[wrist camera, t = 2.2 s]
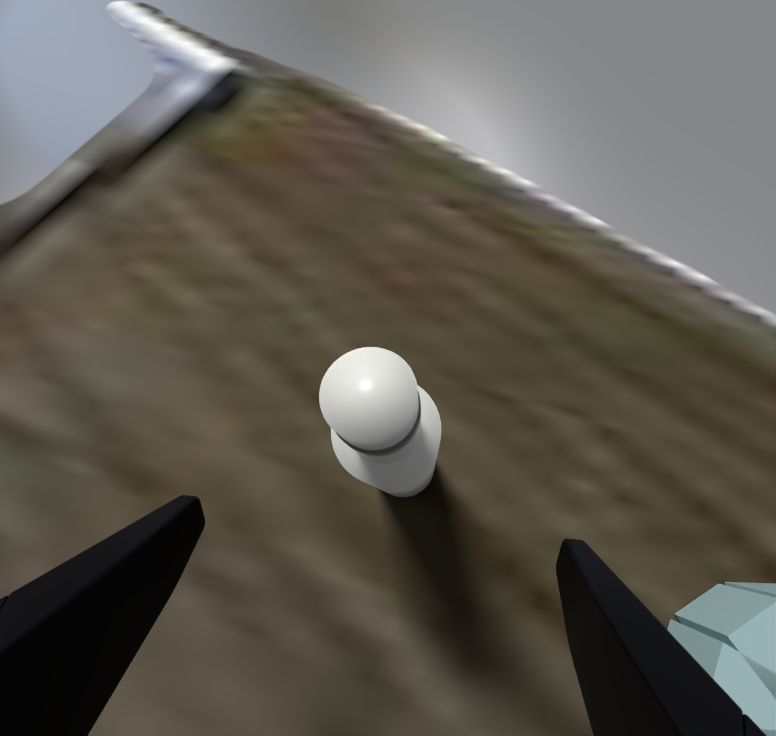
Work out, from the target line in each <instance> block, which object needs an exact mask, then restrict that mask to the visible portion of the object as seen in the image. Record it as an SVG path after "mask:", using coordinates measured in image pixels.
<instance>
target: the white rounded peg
mask: <svg viewBox="0 0 776 736" xmlns="http://www.w3.org/2000/svg"><path fill="white" fill-rule="evenodd" d="M319 401H320V407H321V411H322V414H323V416H324V418H325V420H326V422H327V423H328V424H329V426H330V427H331V439H332V445H333V449H334V451H335V454H336V456H337V458H338V460H339V461H340V463H341V464H342V466H343V467H344V468H345V469H346V470H347V471H348V472H349V473H350V474H351V475H353V476H354V477H355V478H357V479H359V480H361V481H363V482H365V483H367V484H369V485H371V486H373V487H376V488H378V489H380V490H382V491H384V492H386V493H389V494H391V495H393V496H397V497H410V496H414V495H416V494H418V493H420V492H421V491H423V490H424V489H425V488H426V487H427V486H428V484H429V483H430V481H431V479H432V477H433V473H434V469H435V464H436V459H437V454H438V449H439V445H440V439H441V420H440V416H439V413H438V410H437V408H436V406H435V404H434V402H433V400H432V399H431V398H430V396H429V395H428V394H427V393H426V392H425V391H424V390H423V389H422V388H421V387H419V386H418V385H417V382H416V379H415V376H414V373H413V372H412V370H411V368H410V367H409V365H408V364H407V363H406V362H405V361H404V360H403V359H402V358H401V357H400V356H398V355H397V354H395V353H393V352H391V351H389V350H386V349H382V348H377V347H365V348H359V349H356V350H353V351H350V352H348V353H346V354H344V355H343V356H341V357H340V358H339V359H337V360H336V361H335V362H334V363H333V364H332V365H331V366H330V368H329V369H328V370H327V372H326V374H325V375H324V378H323V380H322V383H321V386H320V392H319Z"/></svg>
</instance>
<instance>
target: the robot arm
mask: <svg viewBox="0 0 776 736" xmlns="http://www.w3.org/2000/svg"><path fill="white" fill-rule="evenodd" d="M204 526H205V517H204V513H203V510H202V506H201V502H200V499H199V498H198V497H196V496H188V495H182V496H179V497H177V498H176V499H174V500H172V501H170V502H169V503H167V504H165V505H163V506H162V507H160V508H158V509H156V510H155V511H153V512H151V513H150V514H148V515H146V516H144V517H143V518H141V519H139V520H137V521H136V522H134V523H132V524H130V525H129V526H127V527H125V528H123V529H122V530H120V531H118V532H116V533H115V534H113V535H111V536H110V537H108V538H106V539H104V540H103V541H101V542H99V543H97V544H96V545H94V546H92V547H90V548H89V549H87V550H85V551H83V552H82V553H80V554H78V555H76V556H75V557H73V558H71V559H69V560H68V561H66V562H64V563H63V564H61V565H59V566H57V567H56V568H54V569H52V570H50V571H49V572H47V573H45V574H43V575H42V576H40V577H38V578H36V579H35V580H33V581H31V582H29V583H28V584H26V585H24V586H22V587H21V588H19V589H17V590H15V591H14V592H12V593H11V594H10V595H9V596H5V597H3V598H1V599H0V736H88V734H89V732H90V731H91V729H92V727H93V726H94V724H95V722H96V721H97V719H98V717H99V716H100V714H101V712H102V710H103V709H104V707H105V705H106V704H107V702H108V700H109V699H110V697H111V695H112V694H113V692H114V690H115V689H116V687H117V685H118V684H119V682H120V680H121V679H122V677H123V675H124V673H125V672H126V670H127V668H128V667H129V665H130V663H131V662H132V660H133V658H134V657H135V655H136V653H137V652H138V650H139V648H140V647H141V645H142V643H143V642H144V640H145V638H146V636H147V635H148V633H149V631H150V630H151V628H152V626H153V625H154V623H155V621H156V620H157V618H158V616H159V615H160V613H161V611H162V610H163V608H164V606H165V605H166V603H167V601H168V599H169V598H170V596H171V594H172V592H173V591H174V589H175V587H176V585H177V583H178V581H179V579H180V577H181V575H182V573H183V571H184V569H185V567H186V565H187V563H188V561H189V558H190V556H191V554H192V552H193V550H194V548H195V546H196V544H197V542H198V540H199V538H200V536H201V533H202V531H203V529H204ZM556 574H557V580H558V585H559V591H560V597H561V603H562V609H563V614H564V620H565V626H566V632H567V637H568V642H569V647H570V651H571V655H572V659H573V663H574V667H575V670H576V674H577V678H578V681H579V685H580V688H581V692H582V696H583V699H584V703H585V706H586V710H587V714H588V717H589V721H590V724H591V728H592V732H593V735H594V736H767V735H766V734H765V733H764V732H763V731H762V730H761V729H760V728H759V727H758V726H757V725H756V724H755V723H754V722H753V721H752V719H751V718H750V717H749V716H748V715H746V714H743V712H742V709H741V708H740V707H739V706H738V705H737V704H736V703H735V702H734V700H733V699H732V698H731V697H730V696H729V695H728V694H727V693H726V692H725V691H724V690H723V689H722V688H721V687H720V686H719V684H718V683H717V682H716V681H715V680H714V679H713V678H712V677H711V676H710V675H709V674H708V673H707V672H706V671H705V670H704V668H703V667H702V666H701V665H700V664H699V663H698V662H697V661H696V660H695V659H694V658H693V657H692V656H691V655H690V654H689V652H688V651H687V650H686V649H685V648H684V647H683V646H682V645H681V644H680V643H679V642H678V641H677V640H676V639H675V638H674V636H673V635H672V634H671V633H670V632H669V631H668V630H667V629H666V628H665V627H664V626H663V625H662V624H661V623H660V622H659V620H658V619H657V618H656V617H655V616H654V615H653V614H652V613H651V612H650V611H649V610H648V609H647V608H646V607H645V606H644V604H643V603H642V602H641V601H640V600H639V599H638V598H637V597H636V596H635V595H634V594H633V593H632V592H631V591H630V590H629V588H628V587H627V586H626V585H625V584H624V583H623V582H622V581H621V580H620V579H619V578H618V577H617V576H616V575H615V574H614V572H613V571H612V570H611V569H610V568H609V567H608V566H607V565H606V564H605V563H604V562H603V561H602V560H601V559H600V557H599V556H598V555H597V554H596V553H595V552H594V551H593V550H592V549H591V548H590V547H589V546H588V545H587V544H586V543H585V542H584V541H582V540H576V539H564V540H563V542H562V545H561V548H560V552H559V555H558V559H557V563H556Z"/></svg>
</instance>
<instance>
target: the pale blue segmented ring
mask: <svg viewBox="0 0 776 736" xmlns="http://www.w3.org/2000/svg"><path fill="white" fill-rule="evenodd" d="M675 616H676V617H677V619H678V620H679V621H680V623H678V622H676V621H674V620H671V619H670V622H669V626H668V629H667V630H668V631H669V632H670V633H671V634H672V635H673V636H674V638H675V639H676V640H677V641H678V642H679V643H680V644H681V645H682V646H683V647H684V648H685V649H686V650H687V651H688V652H689V654H690V655H691V656H692V657H693V658H694V659H695V660H696V661H697V662H698V663H699V664H700V665H701V666H702V667H703V668H704V670H705V671H706V672H707V673H708V674H709V675H710V676H711V677H712V678H713V679H714V680H715V681H716V682H717V683H718V684H719V686H720V687H721V688H722V689H723V690H724V691H725V692H726V693H727V694H728V695H729V696H730V697H731V698H732V699H733V700H734V702H735V703H736V704H737V705H738V706H739V707H740V708H741V709H742V712H743V714H746V715H748V716H749V717H750V718H751V719H752V721H753V722H754V723H755V724H756V725H757V726H758V727H759V728H760V729H761V730H762V731H763V732H764V733H765V734H766V735H767V736H776V584H771V583H740V582H725V585H722V584H717V585H716V586H714V587H713V588H711V589H710V590H708V591H707V592H706V593H704V594H703V595H701V596H700V597H698V598H697V599H695V600H694V601H692V602H691V603H689V604H688V605H687V606H685V607H684V608H682V609H681V610H679V611H678V612H676V613H675Z"/></svg>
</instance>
